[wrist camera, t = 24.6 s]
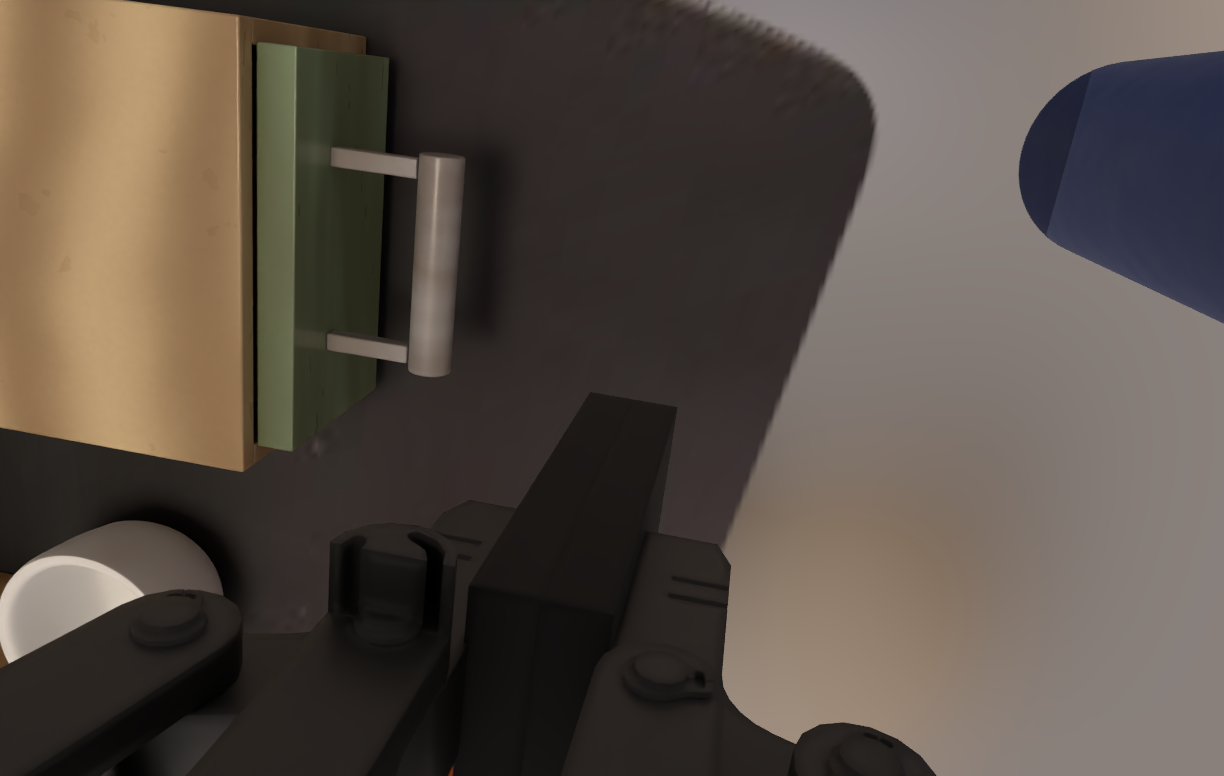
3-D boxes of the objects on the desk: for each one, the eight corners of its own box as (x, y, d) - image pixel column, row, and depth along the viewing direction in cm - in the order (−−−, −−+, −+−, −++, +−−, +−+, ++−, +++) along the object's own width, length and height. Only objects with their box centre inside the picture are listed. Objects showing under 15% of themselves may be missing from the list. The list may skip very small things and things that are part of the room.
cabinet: (367, 36, 32) (238, 14, 24) (355, 391, 36) (242, 473, 28) (21, -8, 33) (-208, -43, 25) (49, 339, 37) (-140, 402, 30)
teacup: (109, 468, 39) (12, 522, 34) (269, 542, 39) (196, 608, 34) (66, 643, 42) (-28, 717, 37) (213, 712, 42) (139, 796, 37)
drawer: (507, 73, 31) (443, 65, 24) (480, 406, 35) (418, 475, 28) (60, 14, 32) (-108, -7, 26) (82, 338, 36) (-59, 388, 30)
